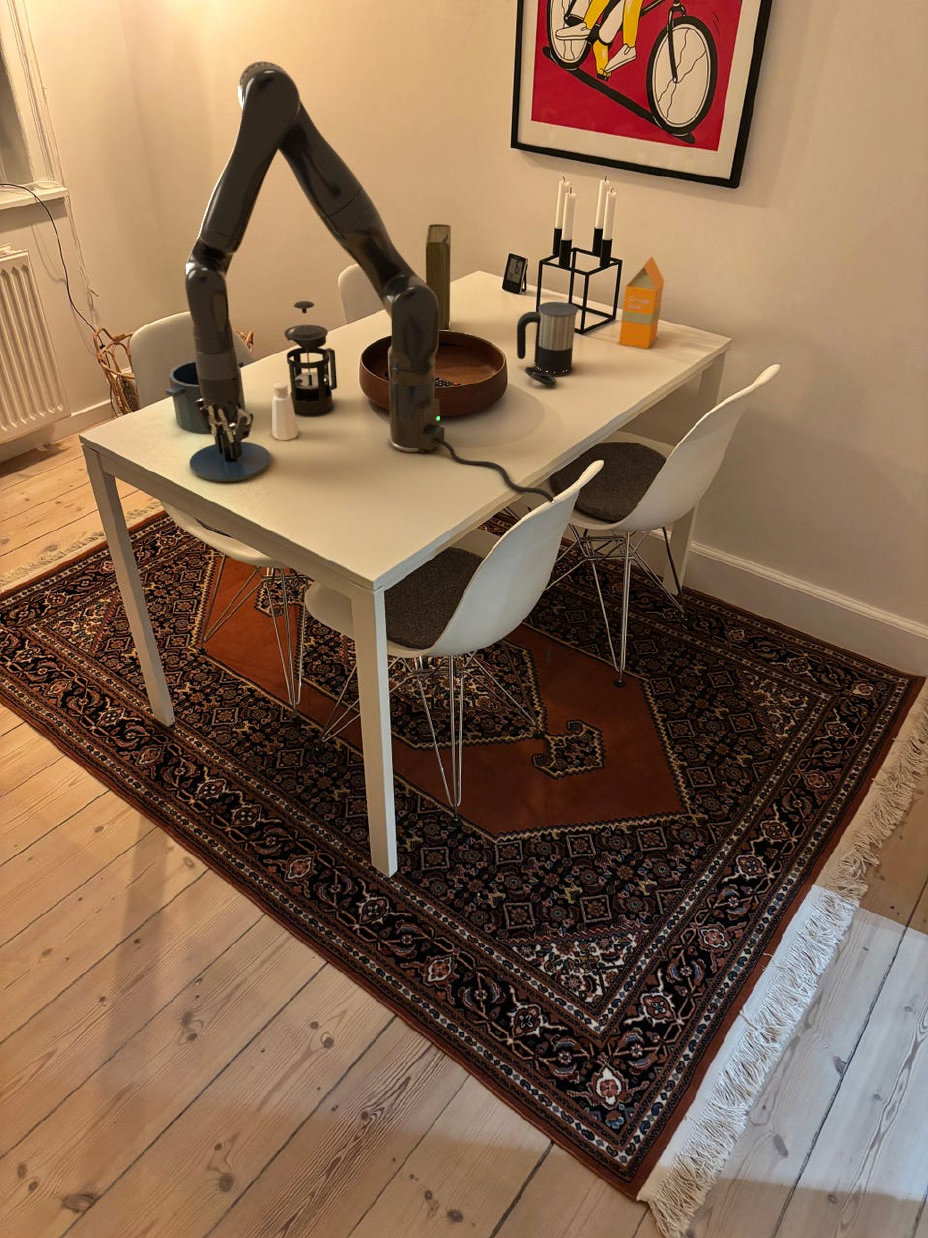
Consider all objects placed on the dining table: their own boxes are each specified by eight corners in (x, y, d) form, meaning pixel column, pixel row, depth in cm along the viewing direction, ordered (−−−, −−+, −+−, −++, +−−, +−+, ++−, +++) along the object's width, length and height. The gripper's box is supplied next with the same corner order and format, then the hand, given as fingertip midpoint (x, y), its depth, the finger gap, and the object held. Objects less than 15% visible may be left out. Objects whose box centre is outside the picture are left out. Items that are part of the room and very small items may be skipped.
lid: (287, 459, 192) (284, 428, 188) (232, 491, 181) (227, 459, 177) (229, 439, 199) (225, 409, 195) (173, 469, 188) (167, 438, 184)
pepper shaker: (271, 430, 202) (265, 380, 196) (297, 427, 204) (292, 378, 197) (273, 441, 198) (267, 391, 192) (300, 439, 199) (295, 388, 193)
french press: (304, 421, 206) (294, 314, 192) (279, 407, 212) (268, 302, 198) (348, 406, 213) (342, 302, 199) (323, 392, 218) (315, 290, 204)
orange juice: (618, 343, 245) (627, 263, 233) (627, 332, 252) (637, 253, 240) (648, 348, 243) (659, 267, 231) (656, 337, 249) (668, 257, 237)
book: (429, 322, 255) (428, 223, 240) (449, 323, 255) (450, 224, 240) (426, 345, 242) (425, 242, 227) (448, 346, 242) (449, 243, 227)
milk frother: (565, 360, 236) (569, 299, 227) (588, 385, 224) (595, 322, 215) (509, 365, 233) (512, 304, 224) (530, 391, 221) (534, 327, 212)
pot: (268, 410, 210) (263, 364, 204) (203, 444, 197) (195, 396, 191) (220, 394, 216) (213, 350, 210) (153, 426, 203) (144, 379, 197)
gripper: (175, 368, 179) (189, 452, 189) (231, 385, 173) (243, 472, 183) (205, 355, 184) (217, 438, 194) (260, 372, 178) (269, 457, 188)
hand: (229, 454), depth 189 cm, fingers open, 3 cm apart
